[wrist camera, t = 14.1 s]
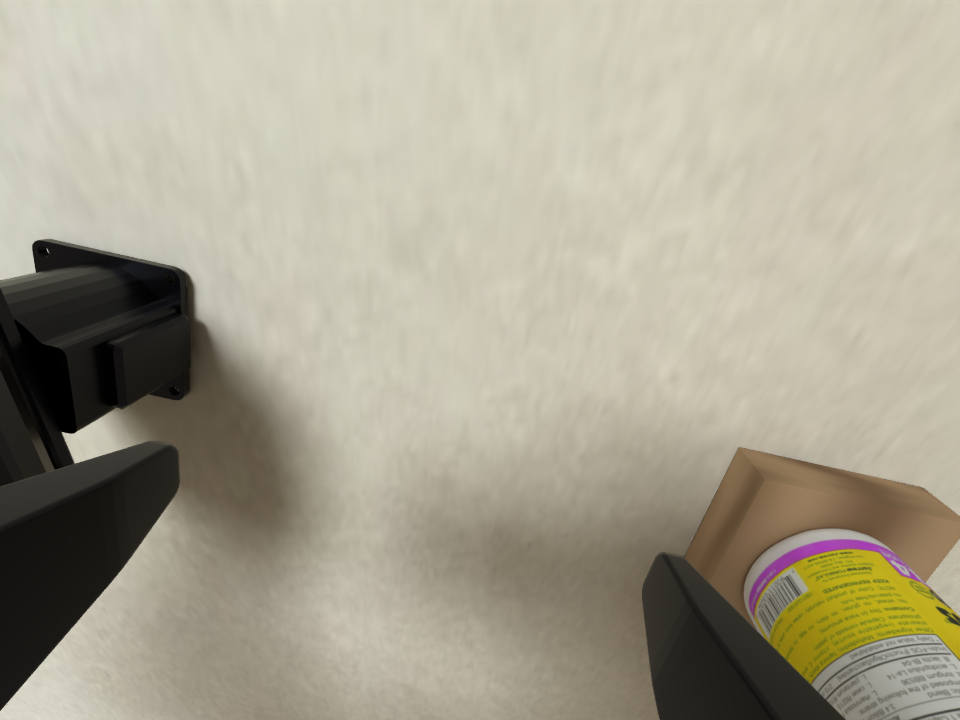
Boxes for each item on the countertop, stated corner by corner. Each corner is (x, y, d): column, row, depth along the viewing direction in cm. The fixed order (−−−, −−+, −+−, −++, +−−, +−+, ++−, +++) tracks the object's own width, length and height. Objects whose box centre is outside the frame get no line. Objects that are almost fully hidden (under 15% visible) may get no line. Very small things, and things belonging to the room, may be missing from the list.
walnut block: (670, 585, 26) (685, 626, 23) (738, 447, 22) (764, 479, 20) (830, 619, 26) (861, 663, 23) (923, 487, 22) (970, 524, 20)
